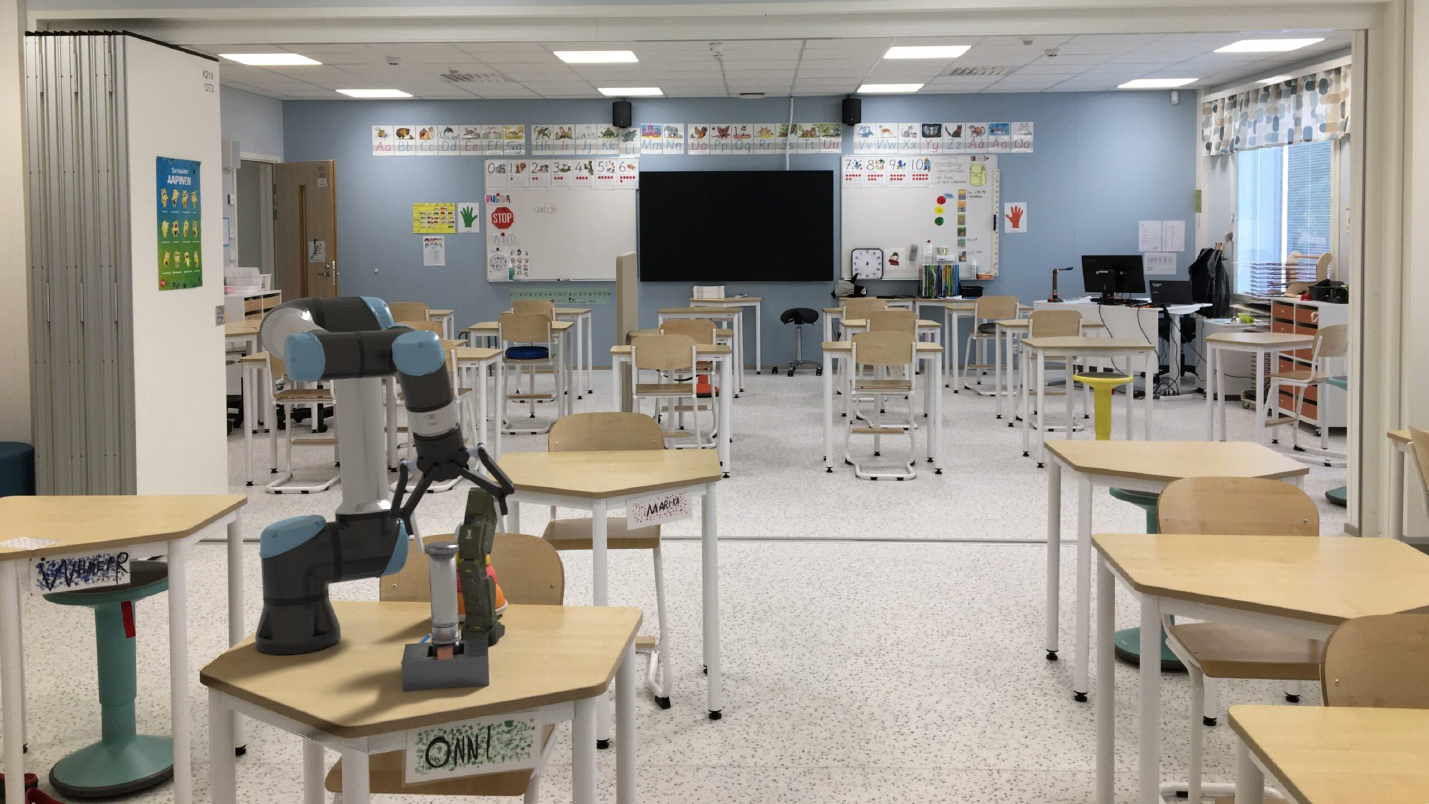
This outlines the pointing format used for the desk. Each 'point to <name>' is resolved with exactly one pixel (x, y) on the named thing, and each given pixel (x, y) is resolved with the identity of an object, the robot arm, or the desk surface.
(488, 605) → the mechanical leg
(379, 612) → the desk surface
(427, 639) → the pencil
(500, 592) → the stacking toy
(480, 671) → the stand
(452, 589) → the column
